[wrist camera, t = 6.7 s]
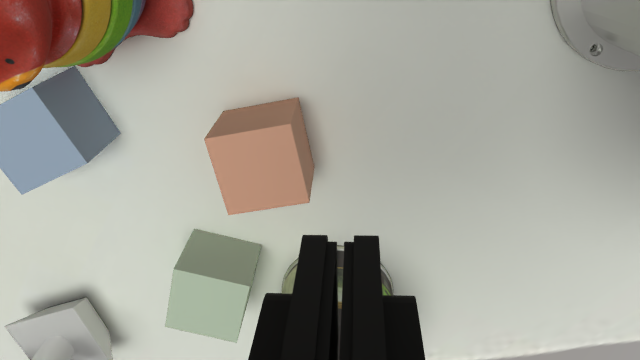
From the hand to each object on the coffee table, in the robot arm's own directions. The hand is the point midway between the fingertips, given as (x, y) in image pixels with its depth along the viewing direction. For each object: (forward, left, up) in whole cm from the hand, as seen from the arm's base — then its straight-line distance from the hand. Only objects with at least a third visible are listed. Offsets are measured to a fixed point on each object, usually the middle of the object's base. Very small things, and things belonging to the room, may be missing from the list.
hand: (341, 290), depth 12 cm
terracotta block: (+6, +8, -29) cm, 30 cm away
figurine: (+26, +27, -29) cm, 47 cm away
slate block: (+22, +6, -29) cm, 37 cm away
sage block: (+11, +20, -29) cm, 37 cm away
